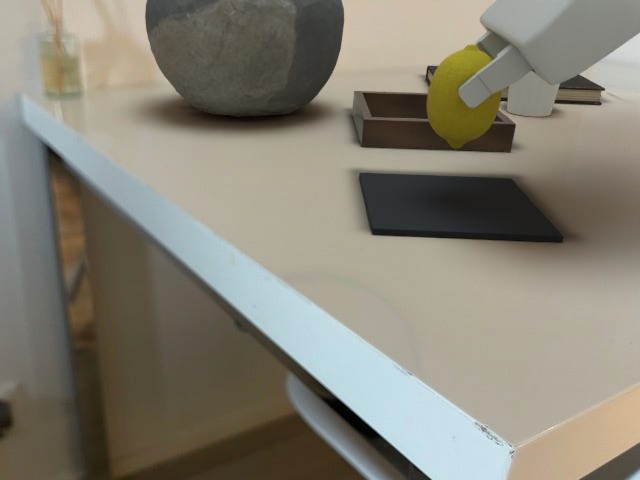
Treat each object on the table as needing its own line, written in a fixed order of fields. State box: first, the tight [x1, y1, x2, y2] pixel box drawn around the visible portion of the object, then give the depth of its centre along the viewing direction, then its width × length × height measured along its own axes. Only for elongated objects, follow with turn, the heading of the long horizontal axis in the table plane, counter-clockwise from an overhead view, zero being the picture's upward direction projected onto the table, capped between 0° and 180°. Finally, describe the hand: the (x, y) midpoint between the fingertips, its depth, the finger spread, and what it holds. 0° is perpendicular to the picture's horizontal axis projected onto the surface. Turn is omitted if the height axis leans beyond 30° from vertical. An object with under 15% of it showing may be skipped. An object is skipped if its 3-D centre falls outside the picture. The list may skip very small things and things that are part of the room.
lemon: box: [427, 43, 502, 149], centre depth 52 cm, size 6×6×8 cm
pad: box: [358, 172, 564, 243], centre depth 55 cm, size 14×14×1 cm
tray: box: [351, 90, 517, 153], centre depth 78 cm, size 16×16×3 cm
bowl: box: [144, 0, 345, 118], centre depth 83 cm, size 24×24×15 cm
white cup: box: [506, 71, 560, 118], centre depth 88 cm, size 7×7×7 cm
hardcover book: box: [425, 65, 606, 106], centre depth 102 cm, size 16×23×2 cm
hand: (456, 91), depth 52 cm, fingers closed on lemon, 5 cm apart
